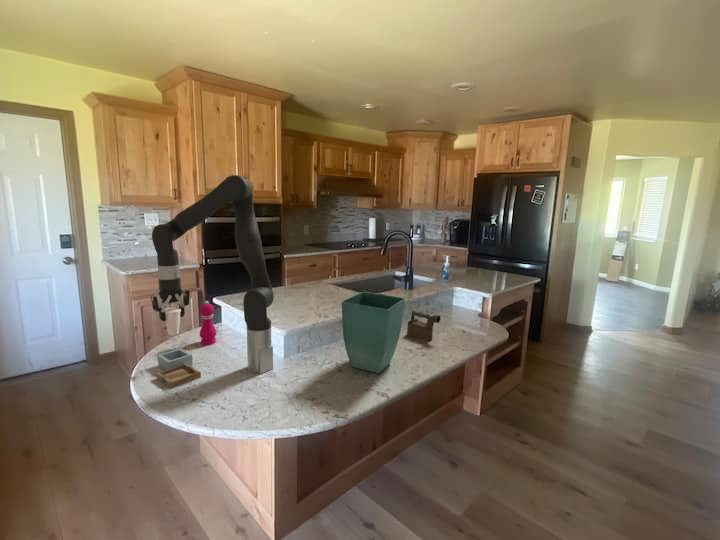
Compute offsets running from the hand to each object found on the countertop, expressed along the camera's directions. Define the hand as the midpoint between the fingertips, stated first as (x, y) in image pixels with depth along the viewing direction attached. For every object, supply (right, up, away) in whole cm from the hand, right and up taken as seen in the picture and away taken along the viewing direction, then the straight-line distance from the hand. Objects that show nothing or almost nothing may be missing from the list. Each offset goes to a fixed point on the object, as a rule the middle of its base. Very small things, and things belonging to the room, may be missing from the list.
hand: (172, 318), depth 145 cm
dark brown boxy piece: (+104, -15, +45) cm, 114 cm away
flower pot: (+77, -21, +11) cm, 81 cm away
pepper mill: (+3, -15, +28) cm, 31 cm away
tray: (+5, -22, -6) cm, 23 cm away
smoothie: (0, -6, +1) cm, 6 cm away
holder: (-1, -19, +4) cm, 20 cm away
